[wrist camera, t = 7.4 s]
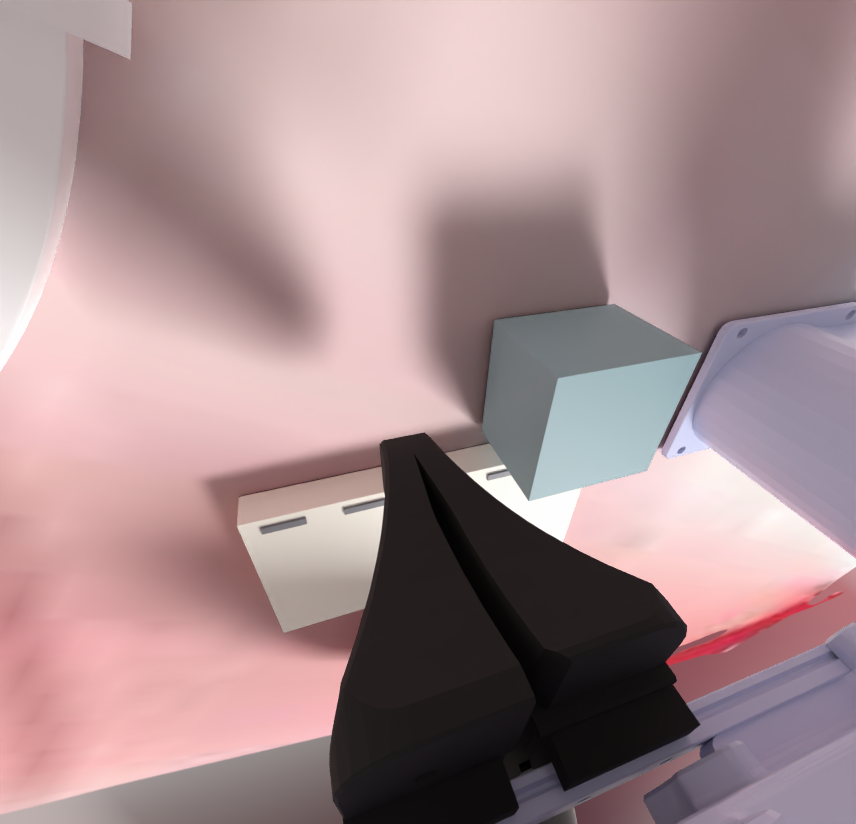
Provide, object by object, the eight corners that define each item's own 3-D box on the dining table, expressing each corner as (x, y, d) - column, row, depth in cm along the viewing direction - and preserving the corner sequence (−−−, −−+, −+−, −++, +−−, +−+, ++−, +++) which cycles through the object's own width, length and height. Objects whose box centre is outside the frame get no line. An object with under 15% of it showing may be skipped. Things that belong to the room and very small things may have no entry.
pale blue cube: (614, 304, 15) (702, 352, 12) (583, 410, 18) (647, 470, 15) (494, 319, 14) (557, 378, 11) (481, 431, 17) (528, 501, 14)
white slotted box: (578, 424, 19) (598, 444, 18) (547, 530, 24) (561, 551, 23) (238, 497, 15) (236, 528, 14) (282, 605, 20) (283, 635, 19)
